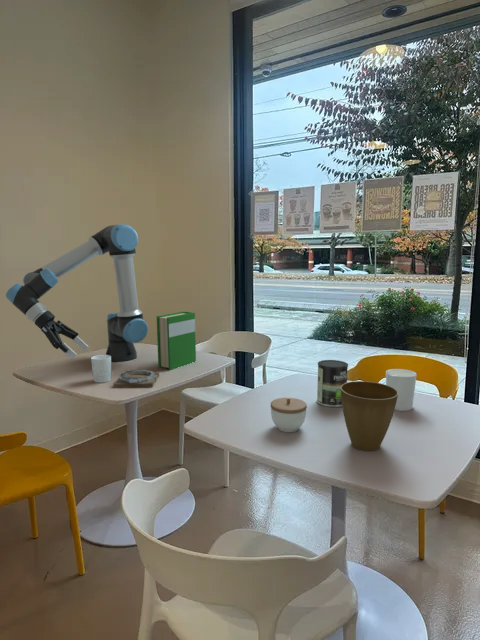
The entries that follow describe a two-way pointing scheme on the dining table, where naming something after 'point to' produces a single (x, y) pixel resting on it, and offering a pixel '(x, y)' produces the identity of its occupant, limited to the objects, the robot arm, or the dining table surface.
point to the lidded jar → (288, 413)
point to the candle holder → (402, 387)
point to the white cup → (101, 368)
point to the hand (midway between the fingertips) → (80, 352)
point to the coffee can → (331, 382)
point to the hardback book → (176, 339)
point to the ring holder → (137, 379)
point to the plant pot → (367, 412)
